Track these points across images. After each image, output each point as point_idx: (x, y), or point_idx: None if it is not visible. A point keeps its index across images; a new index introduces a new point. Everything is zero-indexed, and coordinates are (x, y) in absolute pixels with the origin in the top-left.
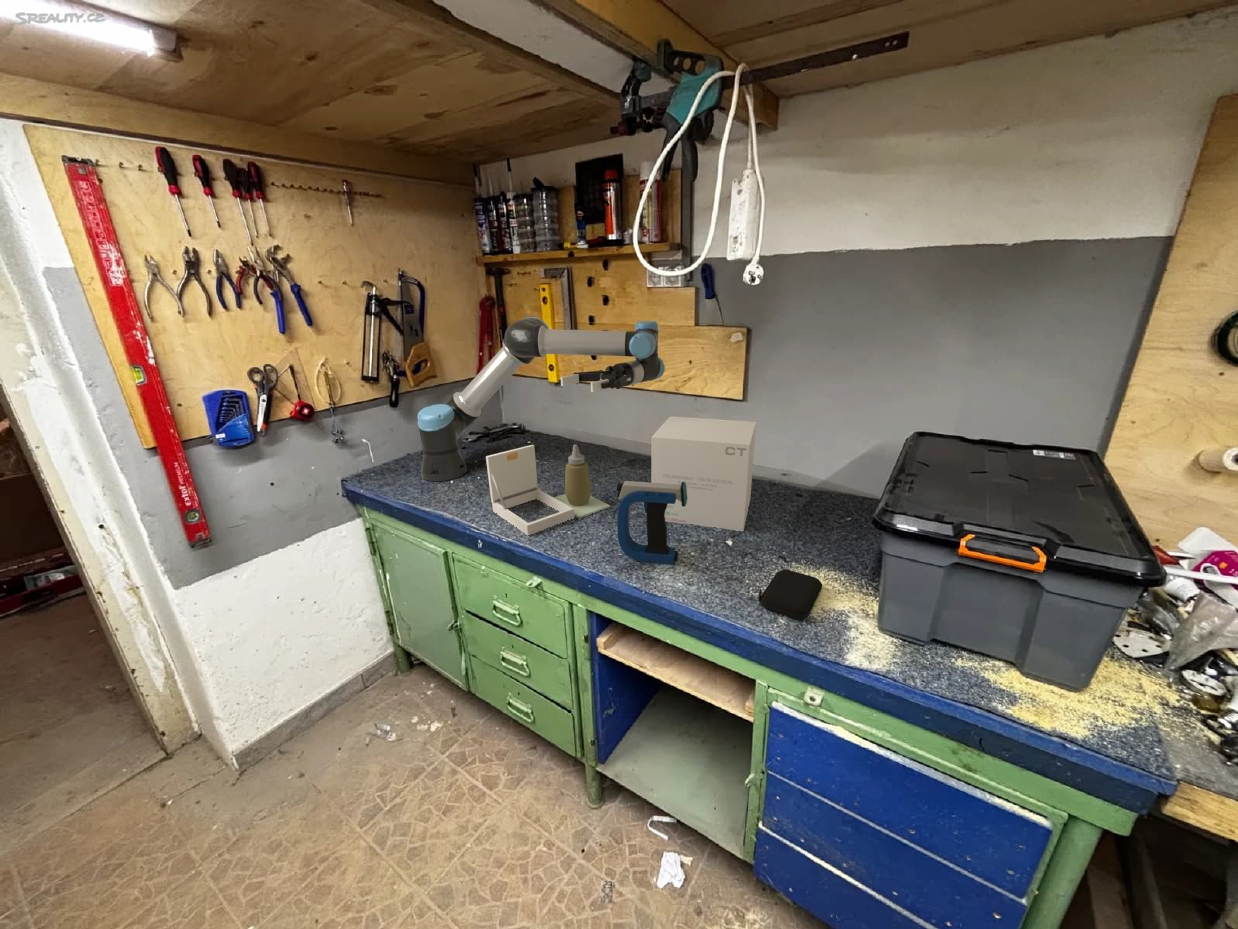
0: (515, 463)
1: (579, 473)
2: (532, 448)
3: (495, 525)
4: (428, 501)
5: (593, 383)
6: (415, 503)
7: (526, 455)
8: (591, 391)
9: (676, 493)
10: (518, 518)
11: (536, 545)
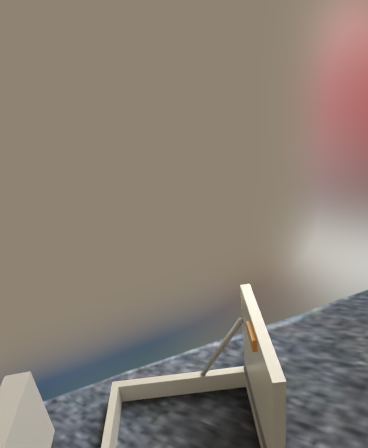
0: (256, 358)
1: None
2: (271, 383)
3: (192, 368)
4: (351, 313)
5: (2, 391)
6: (349, 300)
7: (264, 376)
8: (48, 428)
9: None
10: (148, 380)
11: (78, 395)
